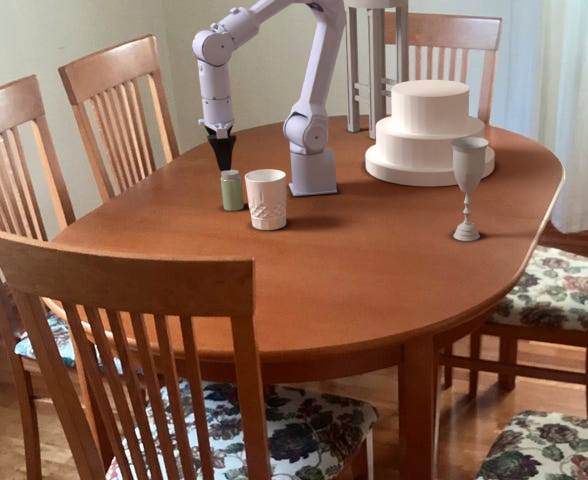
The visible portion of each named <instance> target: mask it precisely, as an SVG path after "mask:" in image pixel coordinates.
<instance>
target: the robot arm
mask: <svg viewBox="0 0 588 480" xmlns="http://www.w3.org/2000/svg"><path fill="white" fill-rule="evenodd" d="M293 4H304V5H306V7H308V8H309V10H310V11H311V13H312V15H313V16H314V18H315V20H316V22H317V24H316V28H315V32H314V37H313V41H312V46H311V49H310V54H309V58H308V63H307V67H306V72H305V76H304V79H303V84H302V88H301V93H300V96H299V99H298V100H297V101H296V102H295V103H294V104H293V105H292V107H291V110H290V113H289V115H288V117H287V118H286V119H285V121H284V123H283V127H282V131H283V135H284V137H285V139H286V140H287V141H288V142H289V153H290V164H291V165H290V167H291V168H290V169H291V181H292V182H290V183H288V187H289V189H290V191H291V193H292V196H293V197H303V196H317V195H327V194H337V193H338V190H337V169H336V157H335V151H334V149H333V147H326V146H327V145H328V142H329V138H330V133H329V124H330V123H329V122H330V117H329V114H328V112H327V109H326V104H327V100H328V96H329V92H330V88H331V83H332V79H333V75H334V71H335V67H336V63H337V59H338V55H339V52H340V51H339V50H340V46H341V43H342V38H343V34H344V32H345V30H344V27H345V23H346V14H345V7H344V0H259V1H257V2H256V3H255V4H253V5H252V6H251V7H250V8H248V7H244V6H240V7H238V8H237V7H232V8H231V9H229V13H230V14H228V15H227V16H225V17H224V18H223V19H221V20H220V21H218V22H217V23H216V22H213V23H212V24H210V26H209V27H210V30H208V29H203V30H200V31H198V32H197V33H196V35H195V36H194V39H193V40H192V44H191V46H190V51H191V53H192V55H193V56H194V58H195V59H196V60H197V68H198V78H199V85H200V95H201V103H202V112H203V118H200V119H198V125H199V126H204V128H205V130H206V132H207V133H208V135H206V138H207V139H206V140H207V141H208V143H209V145H210V146H211V148H212V149H213V152H214V156H215V160H216V163H217V167H218V169H219V171H220V172H222V171H230V170H232V162H233V151H234V147H235V144H236V142H237V138H238V137H237V135H235V134H233V135H231V133H232V129H233V127H234V124H235V123H236V121H235V120H236V119H235V117H234V112H233V109H234V108H233V101H232V91H231V82H230V72H229V62H230V60H231V58H232V55H233V53H234V52H235V51H236V50H237V49H239V48H240V47H242V46H243V45H244V44H246V43H248V42H249V41H250V40H252V39H253V38H254V37H256V36H257V35H258V34H259V32H260V28H261V24H263V23H264V22H266V21H267V20H269V19H270V18H272V17H274V16H275V15H277V14H279V13H280V12H281V11H283V10H285V9H287V8H288V7H290V6H291V5H293Z"/></svg>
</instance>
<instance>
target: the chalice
mask: <svg viewBox="0 0 588 480" xmlns="http://www.w3.org/2000/svg"><path fill="white" fill-rule="evenodd" d="M489 142H490V141H488V139H486V138H484V139H483V138H478V137H462V138H457V139H454V140H452V141H451V145H452V147H453V171H454V175H455V178H456V180H457V183H458V184H457V185H458V187H459V188H460V191H461V192H463V193H464V194H465V198H464V200H463V204H464V210H463V211H462V213H463V214H464V220H463V221H462V222H460V223H458V225H457V226H456V229H455V232H454V234H453V238H454V239H456V240H458V241H464V242H473V241H477V240H478V239H480V237H481V235H480V234H479V230H478V229H477V225H476V224H475V223H473V222H472V221H471V218H470V217H471V214H472V213H473V210H471V204H473V201H472V198H471V195H472V193H473V192H475V191H476V190H477V188H478V187H479V184H480V182H481V180H482V179H483V178H482V175H483V173H484V170H485V152H486V147H487V146H489V144H490V143H489ZM481 178H482V179H481Z"/></svg>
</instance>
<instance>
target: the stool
mask: <svg viewBox="0 0 588 480" xmlns="http://www.w3.org/2000/svg"><path fill="white" fill-rule="evenodd" d="M344 7H345V14H346V23H345V27H344V57H345V83H346V84H345V85H346V111H347V112H346V113H347V131H349V132H352V133H355V132H360V131H361V117H360V116H361V115H360V114H361V113H360V103H364V104H366V105H368V123H369V124H368V125H369V126H368V127H369V138H370V139H372V140H376V123H377V122H378V121H380V120H382V119H384V118H386V117H387V97H388V98H391V90H387V85H389V86H391V87H392V86H394V85H396V84H398V83H402V82H407V81H410V80H409V79H410V77H409V75H410V73H409V70H410V69H409V67H410V66H409V65H410V64H409V60H410V59H409V53H410V51H409V44H410V43H409V41H410V39H409V38H410V37H409V0H344ZM394 8H395V79H391V78H388V77H387V68H386V62H387V61H386V57H387V56H386V9H394ZM358 9H366V36H367V41H366V42H367V78H368V79H367V82H368V84H364V83H361V82H359V81H360V79H359V49H358V48H359V47H358V46H359V44H358V15H357V14H358V12H357V10H358ZM360 90H361V91H364V92H368V97H367V96H363V95H360Z"/></svg>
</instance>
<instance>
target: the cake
mask: <svg viewBox="0 0 588 480" xmlns="http://www.w3.org/2000/svg"><path fill="white" fill-rule="evenodd" d="M390 91H391V97H390V98H391V115H390V116H386V118H384V119H382V120H380V121H378V122H377V123H376V139H375V144H374V145H373V144H372V145H371V146H370V147H369V148H368V149H367V150H366V151H365V154H364V157H365V158H364V159H365V169H366V171H367V172H368V173H369V174H370V175H371V176H373V177H375V178H376V179H379V180H382V181H385V182H388V183H392V184H395V185H397V184H398V185H404V186H413V187H447V186H456V185H458V183H457V180H456V178H455V175H454V171H453V147H452V145H451V141H452V140H454V139H457V138H462V137H478V138H483V139H485V129H486V127H485V126H486V125H485V122H484V121H483V120H481V119H480V118H478V117H475V116H472V115H469V114H470V86H469V85H468V84H466V83H463V82H460V81H455V80H449V79H448V80H446V79H417V80H416V79H415V80H409V81H407V82H402V83H398V84H396V85H394V86H392V85H391V90H390ZM495 155H496V153H495V150H494V149H493V148H492V147H491V146H489V145H487V147H486V152H485V170H484V173H483V175H482V178H481V180H482V179H484V178H486V177H487V176H489V175H490V174H491V173H493V171H494V169H495V159H496V158H495V157H496V156H495Z"/></svg>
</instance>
